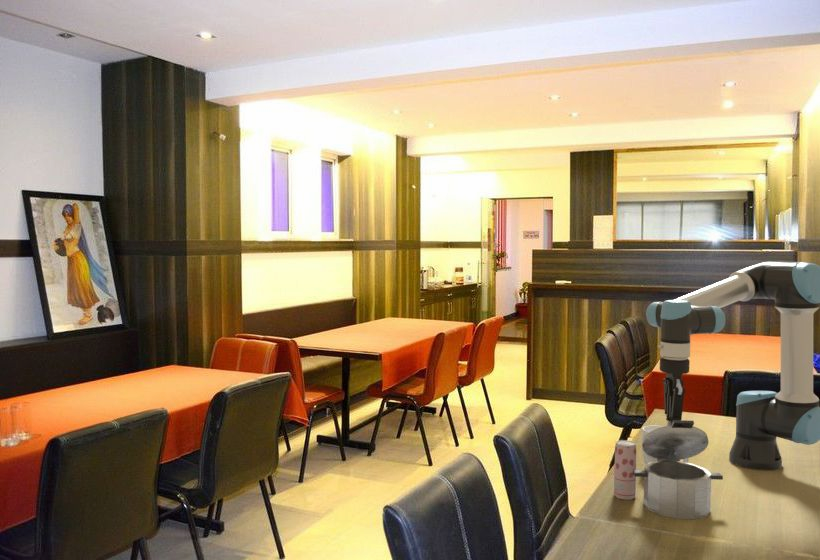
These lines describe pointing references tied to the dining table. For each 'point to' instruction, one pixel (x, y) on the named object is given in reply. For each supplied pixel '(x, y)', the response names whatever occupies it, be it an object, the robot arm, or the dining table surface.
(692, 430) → the lid
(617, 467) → the beverage can
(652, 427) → the mug
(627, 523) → the dining table surface
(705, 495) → the pot
